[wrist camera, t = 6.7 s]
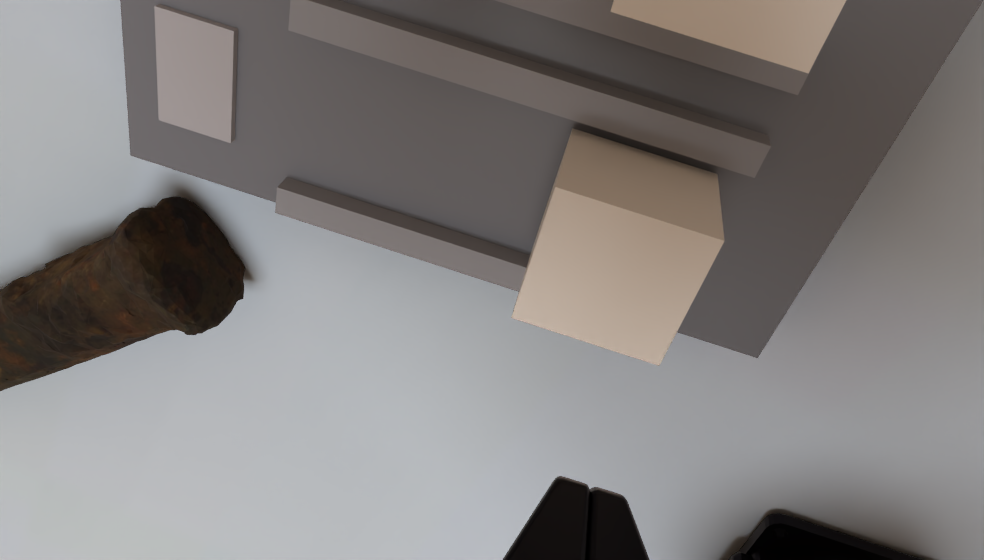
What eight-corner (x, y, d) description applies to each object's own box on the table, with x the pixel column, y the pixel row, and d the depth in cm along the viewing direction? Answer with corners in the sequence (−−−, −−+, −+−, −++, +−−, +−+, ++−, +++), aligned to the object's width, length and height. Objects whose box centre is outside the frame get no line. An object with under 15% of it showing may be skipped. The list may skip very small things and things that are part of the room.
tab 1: (717, 174, 17) (724, 240, 14) (661, 290, 19) (659, 366, 17) (572, 128, 17) (555, 186, 15) (532, 248, 19) (511, 317, 17)
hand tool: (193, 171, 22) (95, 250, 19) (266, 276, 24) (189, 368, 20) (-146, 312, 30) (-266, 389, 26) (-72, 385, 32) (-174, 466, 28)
